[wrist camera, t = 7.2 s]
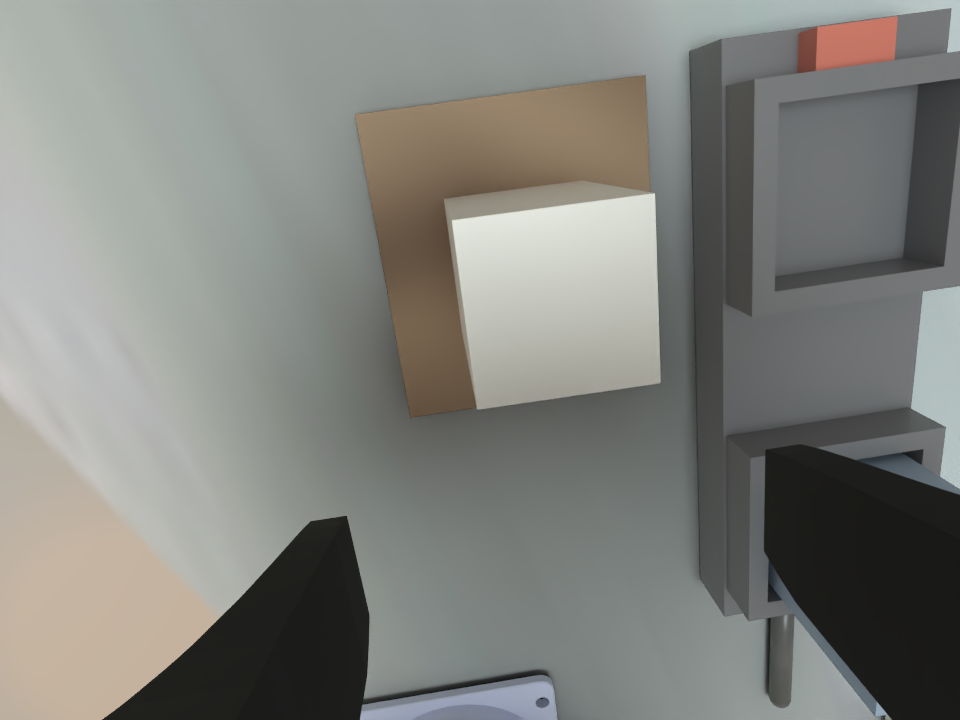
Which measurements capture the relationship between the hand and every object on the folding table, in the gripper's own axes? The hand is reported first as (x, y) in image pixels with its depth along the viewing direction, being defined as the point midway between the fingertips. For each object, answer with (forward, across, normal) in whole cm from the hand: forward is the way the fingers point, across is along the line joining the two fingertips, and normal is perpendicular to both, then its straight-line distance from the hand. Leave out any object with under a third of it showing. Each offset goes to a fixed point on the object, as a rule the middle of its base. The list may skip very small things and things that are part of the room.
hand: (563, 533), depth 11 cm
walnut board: (+10, -1, -3) cm, 10 cm away
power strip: (+10, -9, +4) cm, 14 cm away
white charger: (+9, -1, -3) cm, 10 cm away
